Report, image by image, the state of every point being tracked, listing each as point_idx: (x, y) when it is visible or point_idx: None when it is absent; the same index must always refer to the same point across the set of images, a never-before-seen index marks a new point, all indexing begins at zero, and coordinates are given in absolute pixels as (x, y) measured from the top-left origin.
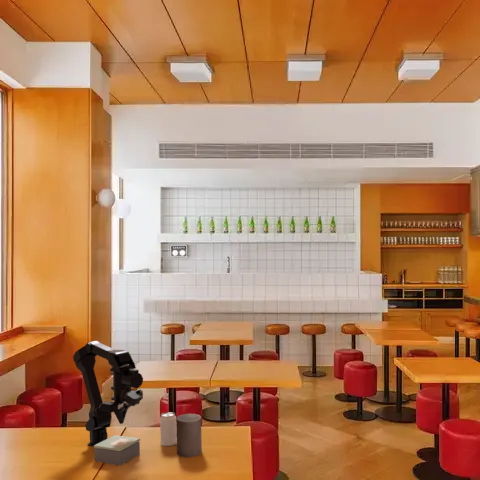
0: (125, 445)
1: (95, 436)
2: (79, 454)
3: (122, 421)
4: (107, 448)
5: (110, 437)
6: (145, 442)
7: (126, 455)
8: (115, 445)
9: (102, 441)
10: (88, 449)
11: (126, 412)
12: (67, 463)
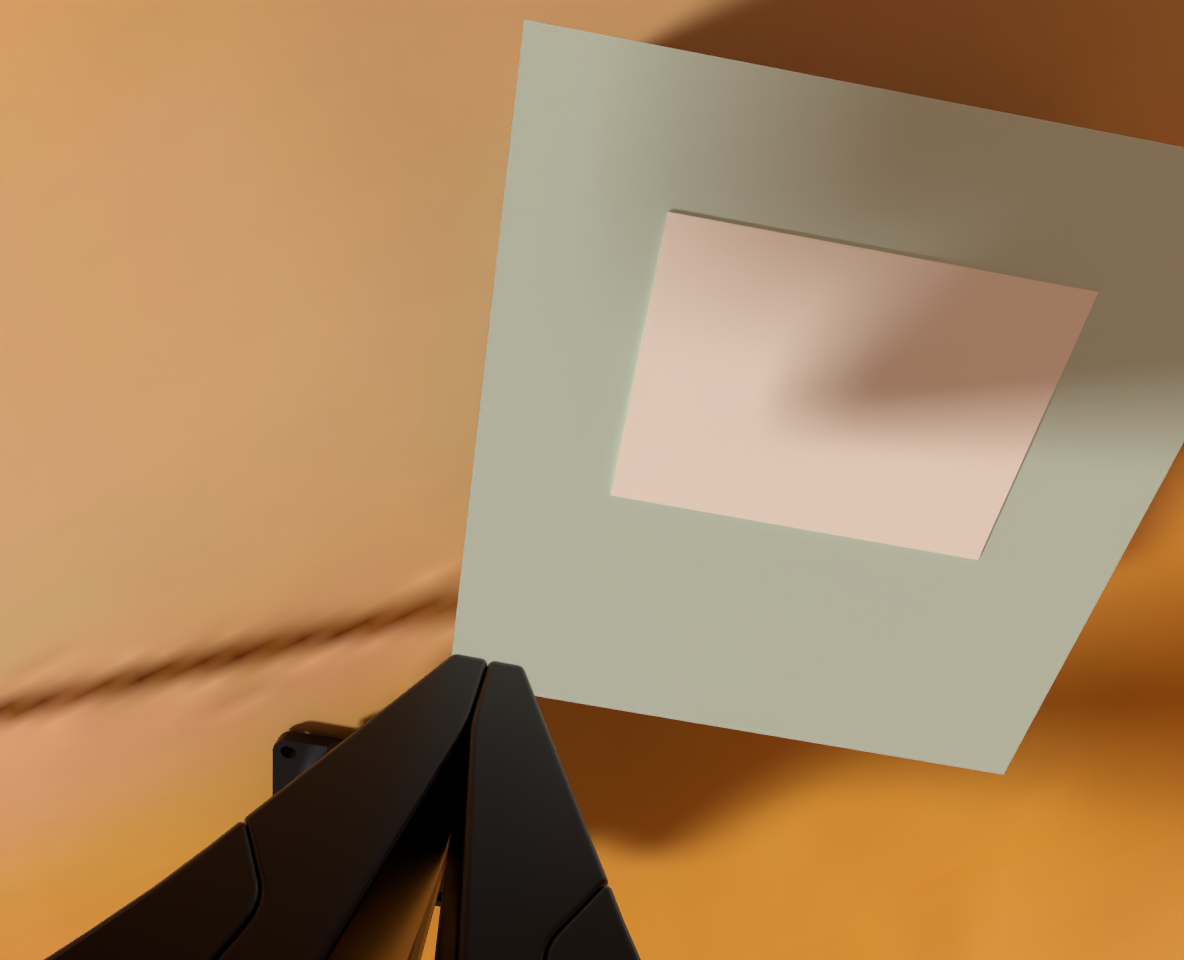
0: (1066, 158)
1: (424, 916)
2: (719, 851)
3: (501, 699)
4: (1132, 504)
5: (581, 697)
6: (68, 261)
7: None
8: (1046, 402)
9: (801, 732)
10: None
11: (135, 903)
12: (988, 847)
